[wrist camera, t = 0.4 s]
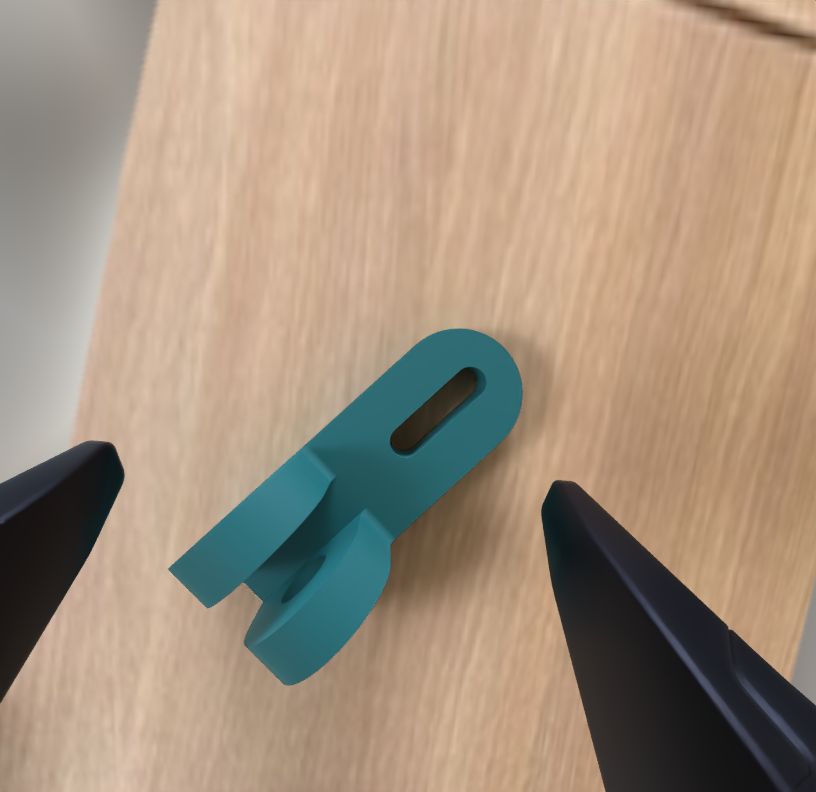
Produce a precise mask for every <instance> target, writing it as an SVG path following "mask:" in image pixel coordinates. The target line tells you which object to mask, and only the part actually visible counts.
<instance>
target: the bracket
mask: <svg viewBox="0 0 816 792" xmlns="http://www.w3.org/2000/svg"><path fill="white" fill-rule="evenodd" d="M463 368H467V369H469V370H471V371H472V372H473V373H474V375H475V377H476V381H477V384H476V388H475V390H474V391H473V393H472V394H470V395H469V396H468V397H467V398H466V399H465V400H464V401H463V402H462V403H461V404H459V405H458V406H457V407H456V408H455V409H454V410H453V411H452V412H451V413H450V414H449V415H447V416H446V417H445V418H444V419H443V420H442V421H441V422H440V423H439V424H438V425H436V426H435V427H434V428H433V429H432V430H431V431H430V432H429V433H428V434H427V435H425V436H424V437H423V438H422V439H421V440H420V441H419V442H418V443H417V444H416V445H415V446H413V447H412V448H410V449H408V450H400V449H397V448H395V447H394V446H393V445H392V444H391V442H390V437H391V435H392V433H393V431H394V430H395V429H396V428H397V427H399V426H400V425H401V424H402V423H403V422H404V421H405V420H406V419H407V418H408V417H410V416H411V415H412V414H413V413H414V412H415V411H416V410H417V409H418V408H419V407H421V406H422V405H423V404H424V403H425V402H426V401H427V400H428V399H429V398H430V397H432V396H433V395H434V394H435V393H436V392H437V391H438V390H439V389H440V388H441V387H443V386H444V385H445V384H446V383H447V382H448V381H449V380H450V379H451V378H452V377H453V376H455V375H456V374H457V373H458V372H459V371H460V370H461V369H463ZM522 394H523V391H522V382H521V377H520V374H519V371H518V368H517V366H516V364H515V362H514V360H513V358H512V357H511V356H510V354H509V353H508V352H507V351H506V349H505V348H504V347H503V346H502V345H501V344H499V343H498V342H497V341H495V340H494V339H493V338H491V337H489V336H487V335H485V334H483V333H480V332H477V331H474V330H469V329H449V330H444V331H440V332H437V333H434V334H432V335H430V336H428V337H426V338H425V339H423V340H421V341H420V342H419V343H418V344H416V345H415V346H414V347H413V348H412V349H411V350H410V351H409V352H407V353H406V354H405V355H404V356H403V357H402V358H401V359H400V360H399V361H397V362H396V363H395V364H394V365H393V366H392V367H391V368H390V369H389V370H388V371H386V372H385V373H384V374H383V375H382V376H381V377H380V378H379V379H378V380H377V381H375V382H374V383H373V384H372V385H371V386H370V387H369V388H368V389H367V390H365V391H364V392H363V393H362V394H361V395H360V396H359V397H358V398H357V399H356V400H354V401H353V402H352V403H351V404H350V405H349V406H348V407H347V408H346V409H345V410H343V411H342V412H341V413H340V414H339V415H338V416H337V417H336V418H335V419H333V420H332V421H331V422H330V423H329V424H328V425H327V426H326V427H325V428H324V429H322V430H321V431H320V432H319V433H318V434H317V435H316V436H315V437H314V438H313V439H311V440H310V441H309V442H308V443H307V444H306V445H305V446H304V447H303V448H301V449H300V450H299V451H298V452H297V453H296V454H295V455H294V456H292V457H291V458H290V459H289V460H288V461H287V462H286V463H285V464H283V465H282V466H281V467H280V468H279V469H278V470H277V471H276V472H275V473H273V474H272V475H271V476H270V477H269V478H268V479H267V480H266V481H265V482H263V483H262V484H261V485H260V486H259V487H258V488H257V489H256V490H255V491H253V492H252V493H251V494H250V495H249V496H248V497H247V498H246V499H245V500H244V501H242V502H241V503H240V504H239V505H238V506H237V507H236V508H235V509H234V510H232V511H231V512H230V513H229V514H228V515H227V516H226V517H225V518H224V519H222V520H221V521H220V522H219V523H218V524H217V525H216V526H215V527H214V528H213V529H211V530H210V531H209V532H208V533H207V534H206V535H205V536H204V537H203V538H201V539H200V540H199V541H198V542H197V543H196V544H195V545H194V546H193V547H192V548H190V549H189V550H188V551H187V552H186V553H185V554H184V555H183V556H182V557H181V558H179V559H178V560H177V561H176V562H175V563H174V564H173V565H172V566H171V567H170V568H169V569H168V570H169V571H170V572H171V573H172V574H173V575H174V576H175V577H176V578H177V579H178V580H179V581H180V582H181V583H182V584H183V585H184V586H185V587H186V588H187V589H188V590H189V591H190V592H191V593H192V594H193V595H194V596H195V597H196V598H197V599H198V600H199V601H200V602H201V603H202V604H203V605H204V606H205V607H207V608H210V607H212V606H214V605H215V604H217V603H218V602H220V601H221V600H222V599H223V598H225V597H226V596H227V595H228V594H230V593H231V592H232V591H233V590H234V589H236V588H237V587H238V586H239V585H240V584H241V583H242V582H244V583H245V584H246V585H247V586H248V587H249V588H250V589H251V590H252V591H253V592H254V593H255V594H256V595H257V596H258V597H259V598H260V599H261V600H262V601H263V603H262V605H261V607H260V609H259V611H258V613H257V614H256V616H255V618H254V620H253V622H252V624H251V626H250V628H249V630H248V632H247V634H246V636H245V640H244V645H245V646H246V647H247V648H248V649H249V650H250V651H251V652H252V653H253V654H254V655H255V656H256V657H257V658H258V659H259V660H260V661H261V662H262V663H263V664H264V665H265V666H266V667H267V668H268V669H269V670H270V671H271V672H272V673H273V674H274V675H275V676H276V677H277V678H278V679H279V680H280V681H281V682H282V683H283V684H285V685H294V684H297V683H299V682H301V681H303V680H305V679H306V678H308V677H310V676H311V675H312V674H314V673H315V672H316V671H318V670H319V669H320V668H321V667H323V666H324V665H325V664H326V663H327V662H328V661H329V660H330V659H331V658H332V657H333V656H334V655H335V654H336V653H337V652H338V651H339V650H340V649H341V648H342V647H343V646H344V645H345V644H346V643H347V641H348V640H349V639H350V638H351V637H352V636H353V634H354V633H355V632H356V631H357V629H358V628H359V627H360V625H361V624H362V623H363V621H364V620H365V619H366V617H367V616H368V614H369V613H370V611H371V610H372V608H373V607H374V605H375V603H376V602H377V600H378V598H379V596H380V595H381V593H382V591H383V589H384V586H385V584H386V582H387V579H388V576H389V573H390V568H391V555H390V545H391V544H392V542H393V541H394V540H395V539H396V538H397V537H398V536H399V535H400V534H401V533H402V532H403V531H404V530H405V529H406V528H408V527H409V526H410V525H411V524H412V523H413V522H414V521H415V520H416V519H417V518H419V517H420V516H421V515H422V514H423V513H424V512H425V511H426V510H427V509H428V508H429V507H431V506H432V505H433V504H434V503H435V502H436V501H437V500H438V499H439V498H440V497H441V496H443V495H444V494H445V493H446V492H447V491H448V490H449V489H450V488H451V487H452V486H453V485H455V484H456V483H457V482H458V481H459V480H460V479H461V478H462V477H463V476H464V475H465V474H467V473H468V472H469V471H470V470H471V469H472V468H473V467H474V466H475V465H476V464H477V463H479V462H480V461H481V460H482V459H483V458H484V457H485V456H486V455H487V454H488V453H489V452H491V451H492V450H493V449H494V448H495V447H496V446H497V445H498V444H499V443H500V442H501V441H502V440H503V439H504V438H505V437H506V436H507V435H508V434H509V432H510V431H511V430H512V428H513V426H514V425H515V423H516V421H517V418H518V416H519V413H520V409H521V405H522Z"/></svg>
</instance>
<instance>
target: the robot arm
mask: <svg viewBox="0 0 816 792" xmlns="http://www.w3.org/2000/svg"><path fill="white" fill-rule="evenodd" d="M124 476H125V474H124V469H123V466H122V464H121V461H120V459H119V456H118V453H117V451H116V448H115V446H114V445H113V444H112V443H110V442H104V441H86V442H84V443H81V444H79V445H77V446H75V447H73V448H71V449H69V450H67V451H65V452H63V453H61V454H59V455H57V456H55V457H53V458H51V459H49V460H47V461H45V462H43V463H41V464H39V465H37V466H35V467H33V468H31V469H29V470H27V471H25V472H23V473H21V474H19V475H17V476H15V477H13V478H11V479H9V480H7V481H5V482H3V483H1V484H0V703H1V702H2V700H3V698H4V697H5V695H6V693H7V692H8V690H9V688H10V687H11V685H12V683H13V682H14V680H15V678H16V677H17V675H18V673H19V672H20V670H21V668H22V667H23V665H24V663H25V662H26V660H27V658H28V657H29V655H30V653H31V652H32V650H33V648H34V647H35V645H36V643H37V642H38V640H39V638H40V637H41V635H42V633H43V632H44V630H45V628H46V627H47V625H48V623H49V622H50V620H51V618H52V617H53V615H54V613H55V612H56V610H57V608H58V607H59V605H60V603H61V601H62V600H63V598H64V596H65V595H66V593H67V591H68V590H69V588H70V586H71V585H72V583H73V581H74V580H75V578H76V576H77V575H78V573H79V571H80V570H81V568H82V566H83V565H84V563H85V561H86V559H87V558H88V556H89V554H90V552H91V550H92V548H93V546H94V544H95V542H96V540H97V538H98V536H99V534H100V532H101V530H102V527H103V525H104V523H105V521H106V519H107V517H108V514H109V512H110V510H111V508H112V506H113V504H114V502H115V499H116V497H117V495H118V493H119V491H120V489H121V486H122V484H123V481H124ZM541 516H542V523H543V530H544V537H545V543H546V550H547V557H548V564H549V571H550V577H551V582H552V587H553V591H554V596H555V600H556V603H557V607H558V611H559V615H560V619H561V623H562V626H563V630H564V634H565V638H566V642H567V646H568V649H569V653H570V657H571V661H572V665H573V669H574V672H575V676H576V680H577V684H578V688H579V692H580V695H581V699H582V703H583V707H584V711H585V715H586V718H587V722H588V726H589V730H590V734H591V738H592V741H593V745H594V749H595V753H596V757H597V761H598V764H599V768H600V772H601V776H602V780H603V784H604V787H605V791H606V792H816V705H815V704H813V703H812V702H811V701H810V700H809V699H808V698H806V697H805V696H804V695H803V694H802V693H800V691H798V690H797V689H796V688H795V687H794V686H793V685H791V684H790V683H789V682H788V681H787V680H786V679H785V678H784V677H782V676H781V675H780V674H779V673H778V672H777V671H776V670H775V669H774V668H773V667H772V666H770V665H769V664H768V663H767V662H766V661H765V660H764V659H763V658H762V657H761V656H760V655H758V654H757V653H756V652H755V651H754V650H753V649H752V648H751V647H750V646H749V645H748V644H747V643H746V642H744V641H743V640H742V639H741V638H740V637H739V636H738V635H737V634H736V633H735V632H734V631H733V630H729V629H728V626H727V625H726V624H725V623H724V622H723V621H722V620H721V619H720V618H719V617H718V616H717V615H716V614H715V613H714V612H712V611H711V610H710V609H709V608H708V607H707V606H706V605H705V604H704V603H703V602H702V601H701V600H700V599H699V598H698V597H697V596H695V595H694V594H693V593H692V592H691V591H690V590H689V589H688V588H687V587H686V586H685V585H684V584H683V583H682V582H681V581H680V580H679V579H677V578H676V577H675V576H674V575H673V574H672V573H671V572H670V571H669V570H668V569H667V568H666V567H665V566H664V565H663V564H662V563H660V562H659V561H658V560H657V559H656V558H655V557H654V556H653V555H652V554H651V553H650V552H649V551H648V550H647V549H646V548H645V547H644V546H642V545H641V544H640V543H639V542H638V541H637V540H636V539H635V538H634V537H633V536H632V535H631V534H630V533H629V532H628V531H627V530H625V529H624V528H623V527H622V526H621V525H620V524H619V523H618V522H617V521H616V520H615V519H614V518H613V517H612V516H611V515H610V514H609V513H607V512H606V511H605V510H604V509H603V508H602V507H601V506H600V505H599V504H598V503H597V502H596V501H595V500H594V499H593V498H592V497H590V496H589V495H588V494H587V493H586V492H585V491H584V490H583V489H582V488H581V487H580V486H579V485H578V484H576V483H575V482H572V481H562V480H556V481H554V482H553V484H552V485H551V487H550V490H549V492H548V494H547V496H546V498H545V500H544V503H543V505H542V510H541Z"/></svg>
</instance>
